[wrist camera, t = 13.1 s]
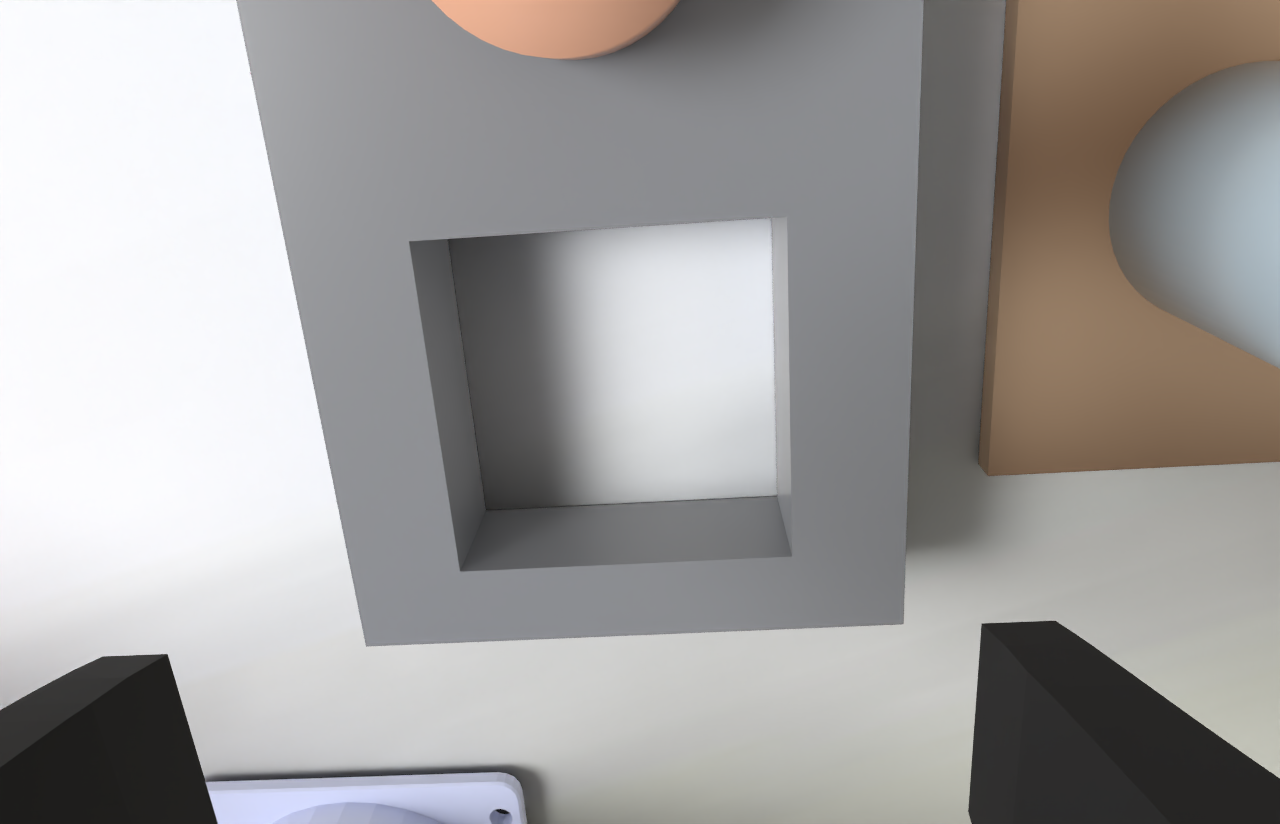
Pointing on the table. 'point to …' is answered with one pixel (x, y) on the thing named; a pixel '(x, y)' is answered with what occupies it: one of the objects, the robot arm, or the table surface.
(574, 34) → the plunger
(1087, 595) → the table surface
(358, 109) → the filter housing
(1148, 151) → the cylinder
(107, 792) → the robot arm
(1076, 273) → the walnut pad
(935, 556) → the table surface
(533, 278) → the table surface
